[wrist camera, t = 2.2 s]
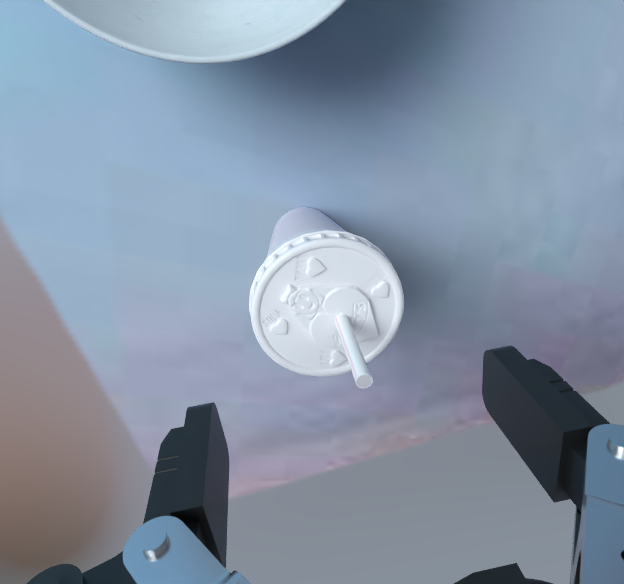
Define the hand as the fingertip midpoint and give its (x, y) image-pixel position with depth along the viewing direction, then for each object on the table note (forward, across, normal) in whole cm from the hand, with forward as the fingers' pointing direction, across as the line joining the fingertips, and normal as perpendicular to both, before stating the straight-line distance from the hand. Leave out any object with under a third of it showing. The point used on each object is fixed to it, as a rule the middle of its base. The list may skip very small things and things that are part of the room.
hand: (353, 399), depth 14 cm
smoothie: (+15, 0, 0) cm, 16 cm away
